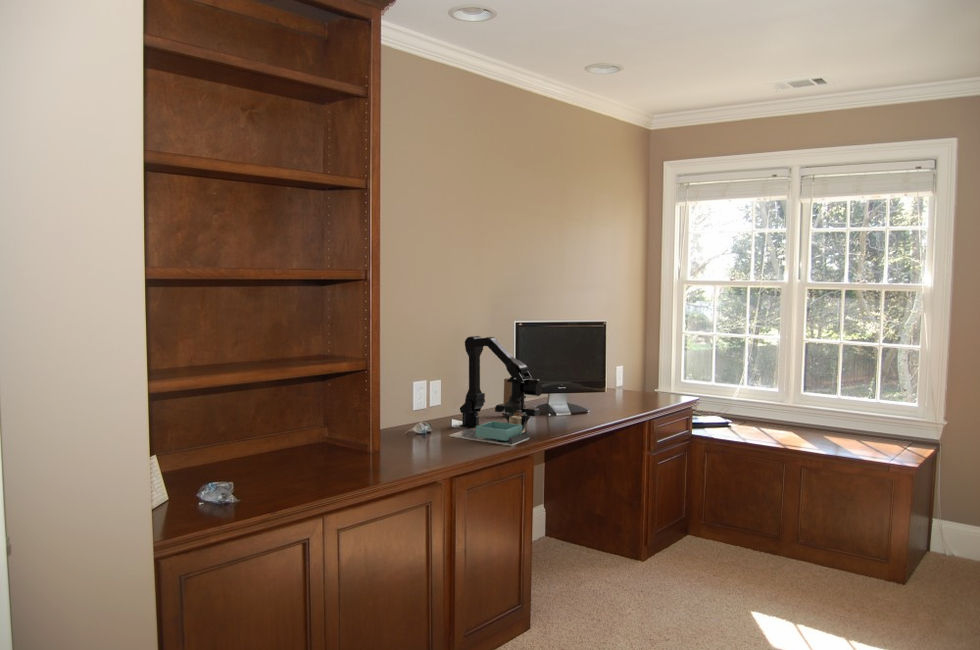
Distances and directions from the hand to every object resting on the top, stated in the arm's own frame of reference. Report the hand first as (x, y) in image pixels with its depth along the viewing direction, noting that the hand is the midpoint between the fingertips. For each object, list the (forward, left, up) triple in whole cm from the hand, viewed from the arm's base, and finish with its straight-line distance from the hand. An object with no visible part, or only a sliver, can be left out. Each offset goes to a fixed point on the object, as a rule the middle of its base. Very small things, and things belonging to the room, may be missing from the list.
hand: (516, 430), depth 321 cm
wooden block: (-19, +34, -2) cm, 39 cm away
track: (-5, -14, -2) cm, 15 cm away
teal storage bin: (-1, -14, -2) cm, 14 cm away
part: (0, 0, -2) cm, 2 cm away
